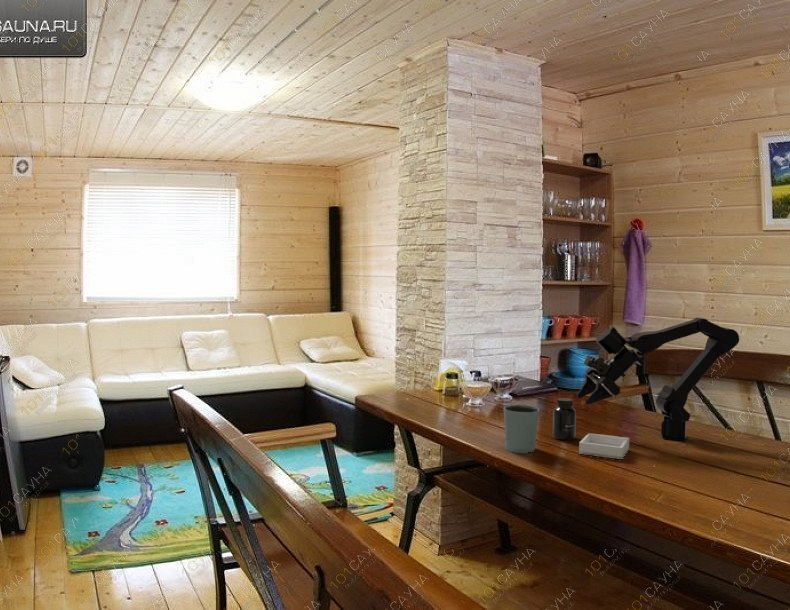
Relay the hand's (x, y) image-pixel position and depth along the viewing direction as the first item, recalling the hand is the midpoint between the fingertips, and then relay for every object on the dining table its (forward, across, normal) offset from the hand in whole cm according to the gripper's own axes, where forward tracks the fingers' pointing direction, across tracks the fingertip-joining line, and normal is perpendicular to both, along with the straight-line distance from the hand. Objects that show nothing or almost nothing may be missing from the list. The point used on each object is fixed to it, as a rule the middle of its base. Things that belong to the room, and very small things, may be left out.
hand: (582, 400), depth 206 cm
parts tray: (+6, +15, +10) cm, 19 cm away
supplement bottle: (+12, 0, +5) cm, 13 cm away
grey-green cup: (+23, +12, -6) cm, 27 cm away
